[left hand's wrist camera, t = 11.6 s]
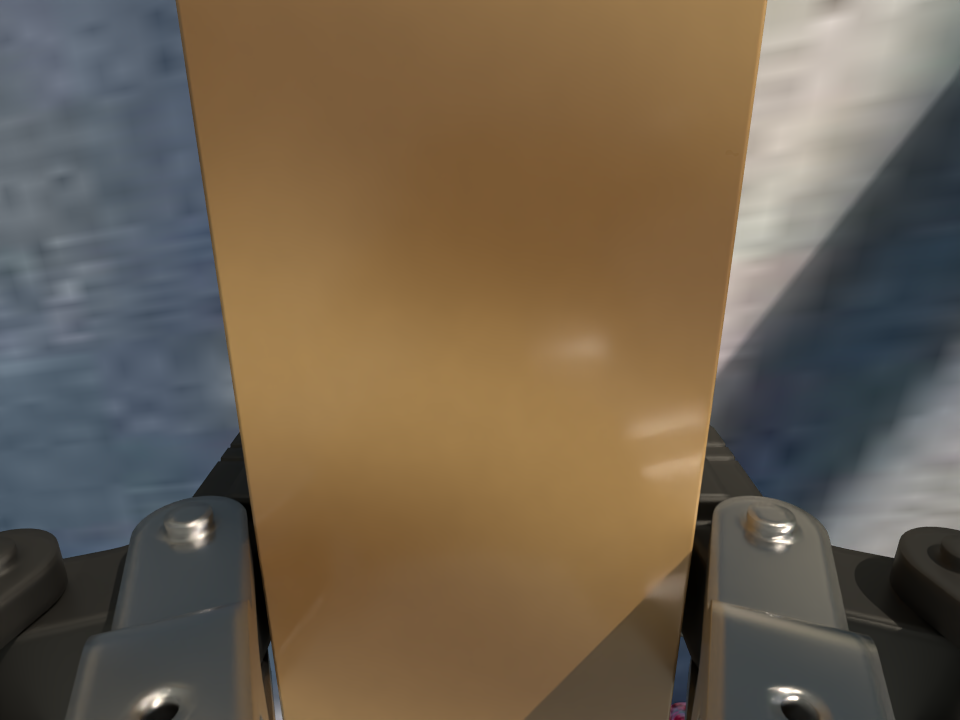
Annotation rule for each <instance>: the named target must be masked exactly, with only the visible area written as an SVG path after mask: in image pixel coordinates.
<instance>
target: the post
mask: <svg viewBox="0 0 960 720" xmlns="http://www.w3.org/2000/svg"><path fill="white" fill-rule="evenodd" d="M176 6H177V13H178V19H179V26H180V33H181V40H182V46H183V53H184V60H185V66H186V73H187V80H188V87H189V93H190V100H191V107H192V113H193V120H194V127H195V134H196V140H197V147H198V154H199V160H200V167H201V174H202V181H203V187H204V194H205V201H206V207H207V214H208V221H209V228H210V234H211V241H212V248H213V254H214V261H215V268H216V275H217V281H218V288H219V295H220V301H221V308H222V315H223V322H224V328H225V335H226V342H227V348H228V355H229V362H230V369H231V375H232V382H233V389H234V395H235V402H236V409H237V416H238V422H239V429H240V436H241V442H242V449H243V456H244V463H245V469H246V476H247V483H248V489H249V496H250V503H251V509H252V516H253V523H254V530H255V536H256V543H257V550H258V556H259V563H260V570H261V577H262V583H263V590H264V597H265V603H266V610H267V617H268V624H269V630H270V637H271V644H272V650H273V657H274V664H275V671H276V677H277V684H278V691H279V697H280V704H281V711H282V718H283V720H669V717H670V709H671V702H672V695H673V687H674V680H675V673H676V665H677V658H678V651H679V643H680V636H681V629H682V621H683V614H684V607H685V599H686V592H687V585H688V578H689V570H690V563H691V556H692V548H693V541H694V534H695V526H696V519H697V512H698V504H699V497H700V490H701V482H702V475H703V468H704V460H705V453H706V446H707V438H708V431H709V424H710V416H711V409H712V402H713V395H714V387H715V380H716V373H717V365H718V358H719V351H720V343H721V336H722V329H723V321H724V314H725V307H726V299H727V292H728V285H729V277H730V270H731V263H732V255H733V248H734V241H735V233H736V226H737V219H738V212H739V204H740V197H741V190H742V182H743V175H744V168H745V160H746V153H747V146H748V138H749V131H750V124H751V116H752V109H753V102H754V94H755V87H756V80H757V72H758V65H759V58H760V50H761V43H762V36H763V29H764V21H765V14H766V7H767V0H176Z"/></svg>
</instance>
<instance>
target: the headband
mask: <svg viewBox="0 0 960 720" xmlns="http://www.w3.org/2000/svg"><path fill="white" fill-rule="evenodd" d="M685 708H686V703H685V702H680V703H675V704H673V705H672V706H671V709H670V717H669V720H685Z"/></svg>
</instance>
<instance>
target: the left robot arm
mask: <svg viewBox="0 0 960 720" xmlns="http://www.w3.org/2000/svg"><path fill="white" fill-rule="evenodd" d="M680 637H684V640H685V642H686V645H687V648H688V650H689V653H690V655H691V660H690V667H689V673H688V685H687V696H686V708H685V720H960V531H959V530H954V529H949V528H941V527H920V528H915V529H911V530H909V531H907V532H905V533H904V534H903V535H902V536H901V538H900V541H899V544H898V548H897V551H896V555H895V558H890V557H885V556H880V555H875V554H870V553H864V552H859V551H854V550H849V549H844V548H840V547H836V546H832V545H831V543H830V539H829V535H828V533H827V531H826V529H825V528H824V526H823V525H822V524H821V523H820V522H819V521H818V520H817V519H816V518H815V517H813V516H812V515H811V514H809V513H807V512H806V511H804V510H802V509H800V508H798V507H796V506H794V505H792V504H789V503H787V502H783V501H780V500H777V499H772V498H768V497H763V496H762V495H761V493H760V492H759V490H758V489H757V488H756V486H755V485H754V483H753V482H752V481H751V479H750V478H749V476H748V475H747V474H746V472H745V471H744V469H743V468H742V467H741V465H740V464H739V462H738V461H735V457H734V455H733V454H732V453H731V451H730V450H729V448H728V447H725V443H724V441H723V440H722V439H721V437H720V436H719V434H718V433H717V432H716V430H715V429H714V428H713V427H712V426H710V425H709V431H708V438H707V446H706V453H705V460H704V468H703V475H702V482H701V490H700V497H699V504H698V512H697V519H696V526H695V534H694V541H693V548H692V556H691V563H690V570H689V578H688V585H687V592H686V599H685V607H684V614H683V621H682V629H681V636H680ZM270 641H271V637H270V630H269V624H268V617H267V610H266V603H265V597H264V590H263V583H262V577H261V570H260V563H259V556H258V550H257V543H256V536H255V530H254V523H253V516H252V509H251V503H250V496H249V489H248V483H247V476H246V469H245V463H244V456H243V449H242V442H241V436H240V432H239V434H238V435H237V436H236V438H235V439H234V440H233V442H232V443H231V447H230V448H228V449H227V450H226V452H225V453H224V454H223V456H222V457H221V461H218V463H217V464H216V465H215V467H214V468H213V469H212V471H211V472H210V474H209V475H208V476H207V478H206V479H205V480H204V482H203V483H202V485H201V486H200V487H199V489H198V490H197V491H196V493H195V494H194V496H193V497H192V498H188V499H183V500H180V501H177V502H173V503H171V504H168V505H166V506H164V507H162V508H160V509H158V510H156V511H154V512H153V513H151V514H149V515H148V516H147V517H145V518H144V519H143V520H142V521H141V522H140V523H139V524H138V525H137V526H136V527H135V529H134V530H133V532H132V535H131V538H130V543H129V545H126V546H123V547H119V548H115V549H111V550H106V551H101V552H95V553H90V554H85V555H80V556H75V557H70V558H65V559H63V558H62V555H61V551H60V548H59V544H58V541H57V539H56V537H55V536H54V535H52V534H51V533H49V532H47V531H43V530H40V529H14V530H7V531H2V532H0V720H275V709H274V697H273V685H272V674H271V667H270V660H269V654H268V646H269V644H270Z"/></svg>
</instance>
